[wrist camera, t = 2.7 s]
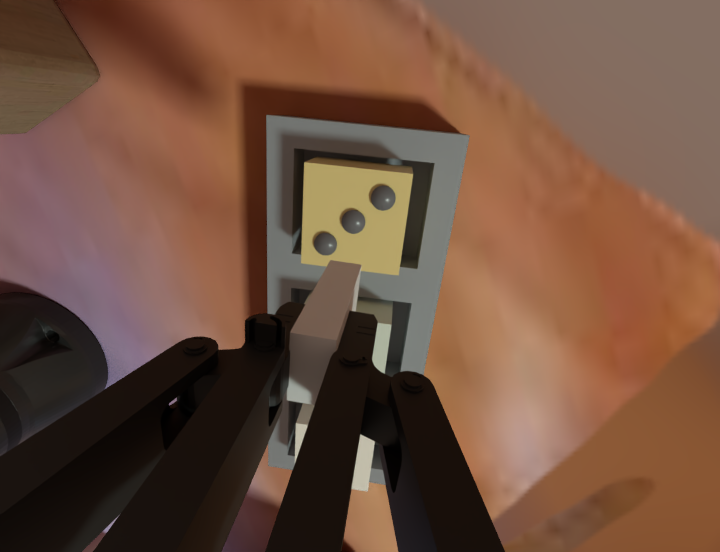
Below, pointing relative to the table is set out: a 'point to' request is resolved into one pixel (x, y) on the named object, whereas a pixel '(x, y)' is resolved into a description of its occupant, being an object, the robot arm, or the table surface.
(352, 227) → the tile three
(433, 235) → the tile board
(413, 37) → the table surface
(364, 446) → the tile one
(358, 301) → the tile two
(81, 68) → the wooden block
